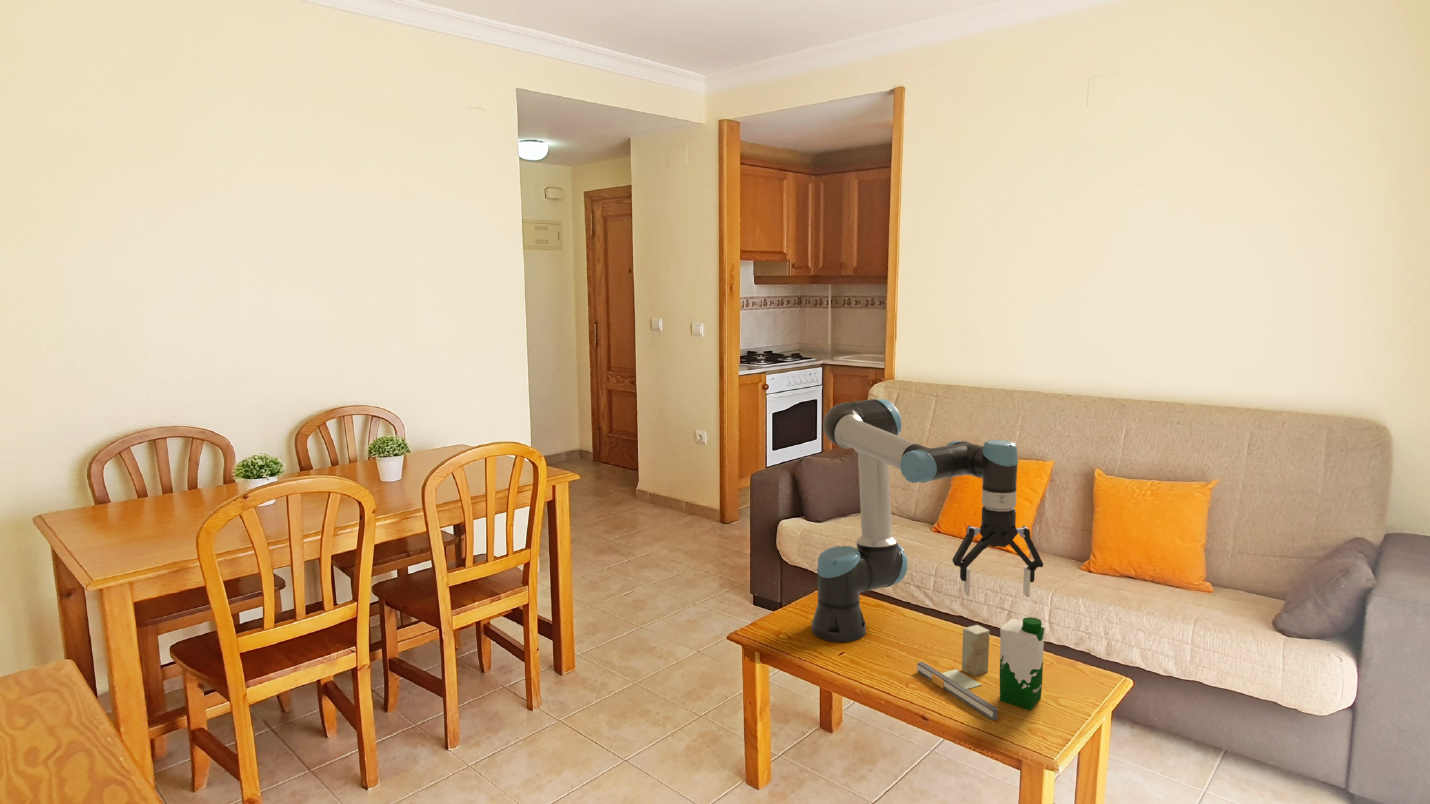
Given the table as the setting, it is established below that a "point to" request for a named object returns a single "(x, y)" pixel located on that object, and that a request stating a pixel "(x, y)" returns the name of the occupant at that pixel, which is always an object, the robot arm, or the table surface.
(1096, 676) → the table surface
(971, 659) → the box
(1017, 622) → the fresh milk carton
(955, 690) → the rail
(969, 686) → the pad
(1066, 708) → the table surface
